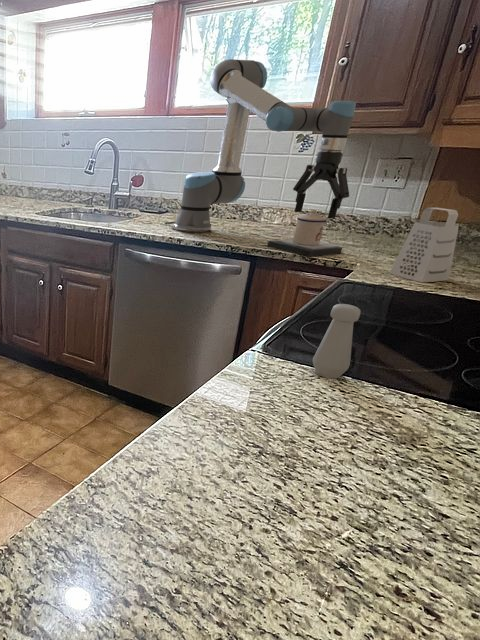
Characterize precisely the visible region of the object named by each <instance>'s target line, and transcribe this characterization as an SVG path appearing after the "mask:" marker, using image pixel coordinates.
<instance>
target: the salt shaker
mask: <svg viewBox="0 0 480 640" xmlns="http://www.w3.org/2000/svg"><path fill="white" fill-rule="evenodd" d="M360 316H361V309H360V308H359V307H357V306H355V305H352V304H348V303H347V304H346V303H337V304H335V305H333V306H332V308H331V311H330V317H331V318H332V320H331V322H330V324H329V326H328V327H327V330H326V332H325V333H324V336H323V337H322V339H321V342H320V343H319V346H318V348H317V350H316V352H315V354H314V355H313V357H312V364H313V368H314V372H315V374H316V375H318V376H319V377H320V376H321V377H323V378H325V379H335V380H337V379H339V378H340V377H341V376H342V375H343V374H344V373H345V372H346V371H348V370H349V367H350V366H351V360H352V359H351V357H352V346H353V345H352V344H353V334H354V324H355V322H358V321H359V319H360Z"/></svg>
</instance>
